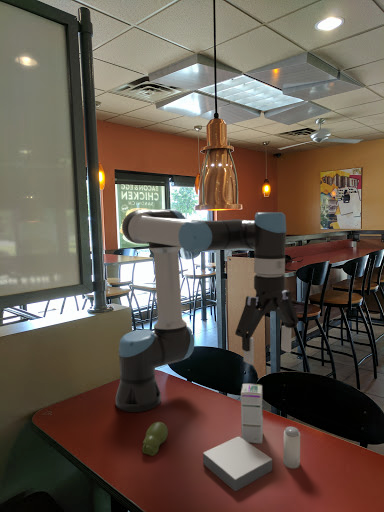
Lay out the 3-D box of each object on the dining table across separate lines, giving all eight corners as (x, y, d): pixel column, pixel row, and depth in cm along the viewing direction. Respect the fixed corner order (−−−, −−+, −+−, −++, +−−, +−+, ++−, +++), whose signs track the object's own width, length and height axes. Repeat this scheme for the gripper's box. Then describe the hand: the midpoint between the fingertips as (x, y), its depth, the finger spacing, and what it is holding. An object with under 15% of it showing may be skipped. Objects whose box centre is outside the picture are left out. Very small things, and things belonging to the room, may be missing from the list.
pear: (170, 420, 106) (155, 445, 97) (171, 435, 107) (156, 462, 98) (152, 416, 108) (135, 441, 99) (154, 432, 109) (137, 458, 100)
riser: (203, 463, 95) (203, 452, 95) (238, 446, 102) (238, 436, 102) (235, 491, 86) (235, 479, 85) (272, 470, 92) (272, 458, 92)
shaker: (280, 462, 96) (280, 429, 95) (290, 456, 98) (290, 424, 97) (292, 470, 92) (293, 436, 91) (303, 464, 95) (303, 431, 94)
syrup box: (262, 444, 103) (262, 393, 102) (240, 442, 104) (240, 391, 103) (262, 432, 109) (263, 384, 107) (242, 430, 110) (242, 382, 108)
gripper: (242, 282, 84) (241, 373, 86) (313, 271, 98) (311, 350, 100) (220, 277, 90) (220, 363, 92) (291, 268, 104) (289, 342, 107)
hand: (268, 356), depth 96 cm, fingers open, 13 cm apart
